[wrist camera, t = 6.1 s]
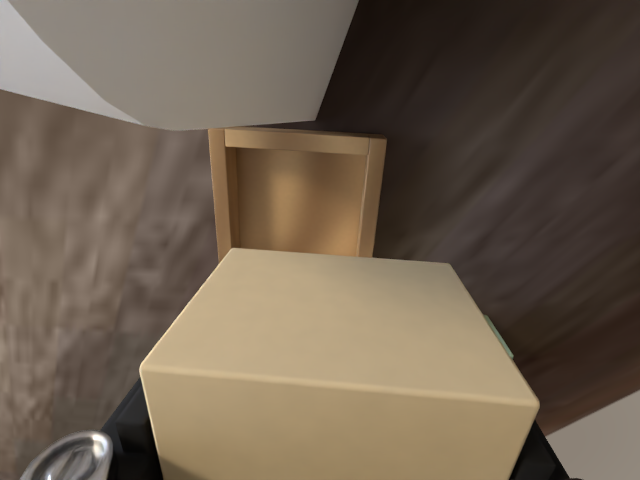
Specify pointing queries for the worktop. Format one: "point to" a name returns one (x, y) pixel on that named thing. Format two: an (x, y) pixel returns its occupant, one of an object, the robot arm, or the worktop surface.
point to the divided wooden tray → (296, 190)
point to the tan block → (334, 375)
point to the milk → (175, 58)
